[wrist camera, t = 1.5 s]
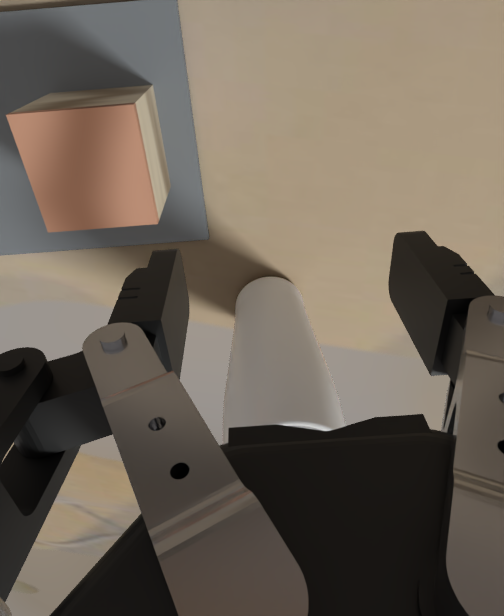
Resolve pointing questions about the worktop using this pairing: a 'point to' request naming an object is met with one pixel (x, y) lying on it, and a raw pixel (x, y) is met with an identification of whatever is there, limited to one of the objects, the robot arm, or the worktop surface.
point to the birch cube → (94, 157)
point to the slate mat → (89, 76)
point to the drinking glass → (277, 363)
